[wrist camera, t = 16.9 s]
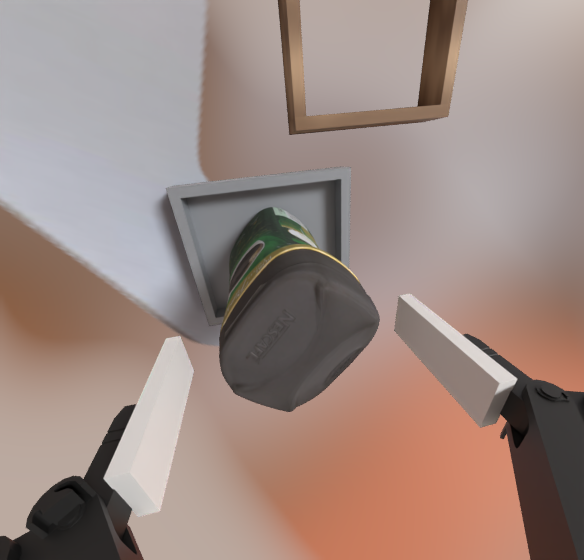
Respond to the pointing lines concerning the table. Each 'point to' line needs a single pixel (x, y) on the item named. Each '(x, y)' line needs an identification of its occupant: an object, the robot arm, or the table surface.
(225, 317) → the coffee jar
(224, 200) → the slate tray
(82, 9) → the table surface
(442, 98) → the walnut frame
